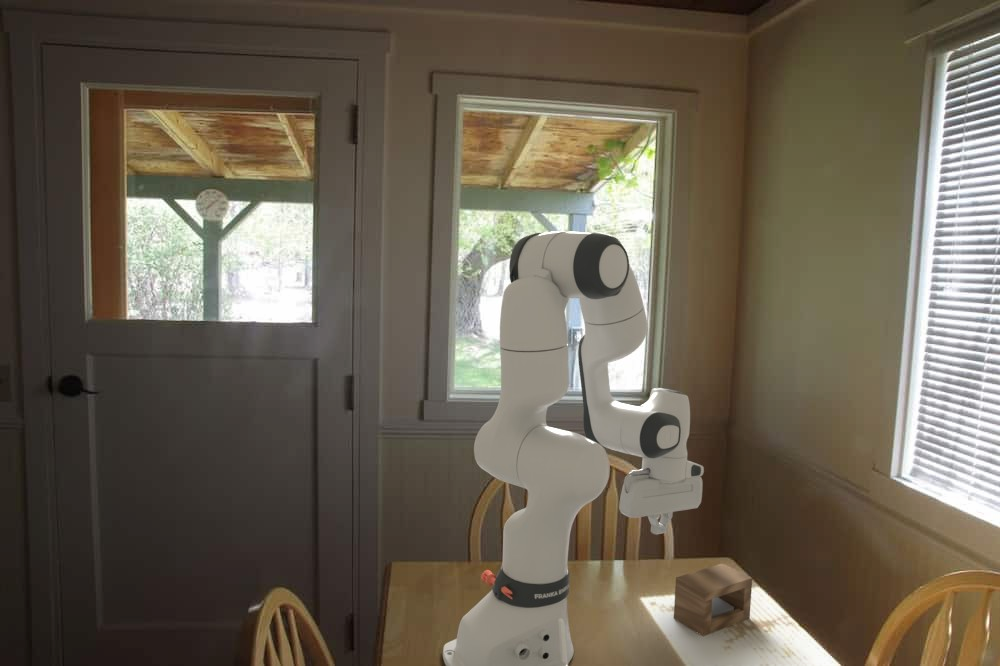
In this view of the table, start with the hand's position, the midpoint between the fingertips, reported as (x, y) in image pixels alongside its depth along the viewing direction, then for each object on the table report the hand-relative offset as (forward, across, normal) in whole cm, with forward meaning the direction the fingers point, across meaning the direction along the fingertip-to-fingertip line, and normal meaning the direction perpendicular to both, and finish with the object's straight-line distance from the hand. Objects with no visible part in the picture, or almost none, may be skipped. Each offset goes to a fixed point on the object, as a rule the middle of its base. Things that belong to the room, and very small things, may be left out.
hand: (658, 532), depth 132 cm
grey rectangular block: (+12, +2, -11) cm, 17 cm away
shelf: (+12, +2, -14) cm, 18 cm away
